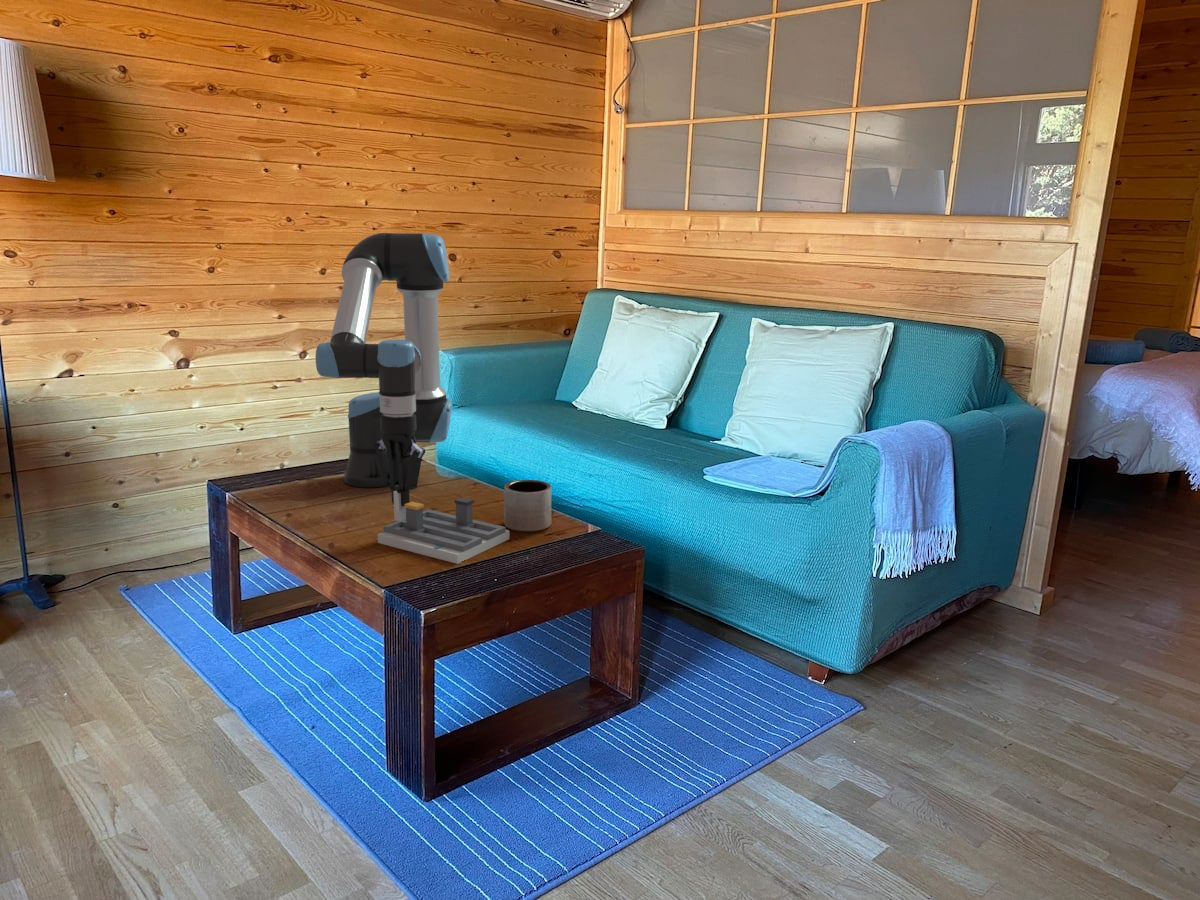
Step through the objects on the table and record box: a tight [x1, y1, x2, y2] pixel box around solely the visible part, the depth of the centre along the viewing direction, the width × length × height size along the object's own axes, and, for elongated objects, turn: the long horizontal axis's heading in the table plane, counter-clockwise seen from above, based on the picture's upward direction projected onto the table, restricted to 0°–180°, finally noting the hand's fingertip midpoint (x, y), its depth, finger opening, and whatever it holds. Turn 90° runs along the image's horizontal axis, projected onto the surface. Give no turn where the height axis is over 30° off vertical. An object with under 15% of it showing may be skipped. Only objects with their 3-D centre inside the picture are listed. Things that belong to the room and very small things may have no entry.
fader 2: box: [454, 497, 475, 528], centre depth 200 cm, size 2×4×6 cm, turn 59°
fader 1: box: [404, 501, 425, 533], centre depth 196 cm, size 2×4×6 cm, turn 60°
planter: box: [503, 479, 552, 533], centre depth 209 cm, size 11×11×10 cm
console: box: [377, 508, 510, 564], centre depth 198 cm, size 18×22×3 cm
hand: (401, 519), depth 198 cm, fingers closed
